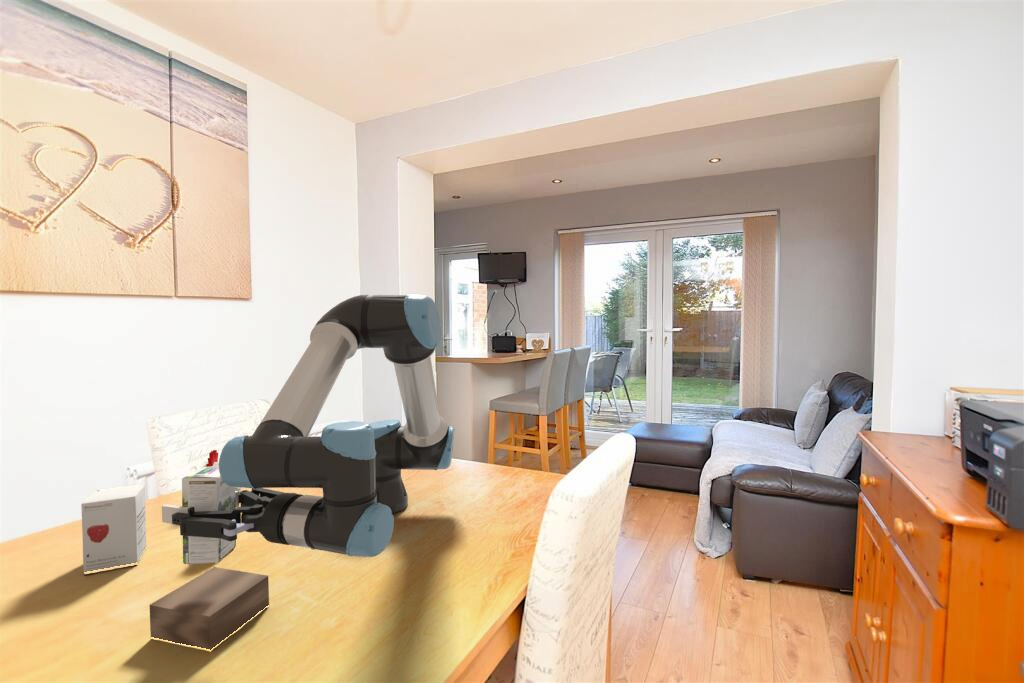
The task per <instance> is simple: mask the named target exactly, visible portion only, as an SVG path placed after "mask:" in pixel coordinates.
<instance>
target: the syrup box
mask: <svg viewBox="0 0 1024 683" xmlns="http://www.w3.org/2000/svg"><path fill="white" fill-rule="evenodd" d="M202 467H203V466H202ZM202 467H200V468H201V469H200V468H199V469H197V470H195V471H193V472H191V473H190V474H188V475H186V476H184V477H182V478H181V498H182V499H181V501H182V502H181V506H183V507H190V508H191V507H194V508H197V511H226V510H235V509H236V502H235V487H233V486H229V485H227V484H226V483H225V482H224V481H223V480H222V477H221V476H220V473H219V466H212V467H203V468H202ZM236 546H237V539H236V540H234V541H227V540H224V539H221V538H208V537H195V536H183V535H182V563H183V564H184V565H194V564H196V565H197V564H215V563H220V562H221V561H222V560H223V559H224V558H225V557H226V556H227V555H228V554H230V553H231V552H232V551H233V550H234V549H235V548H236ZM232 549H233V550H232ZM231 550H232V551H231Z"/></svg>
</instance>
